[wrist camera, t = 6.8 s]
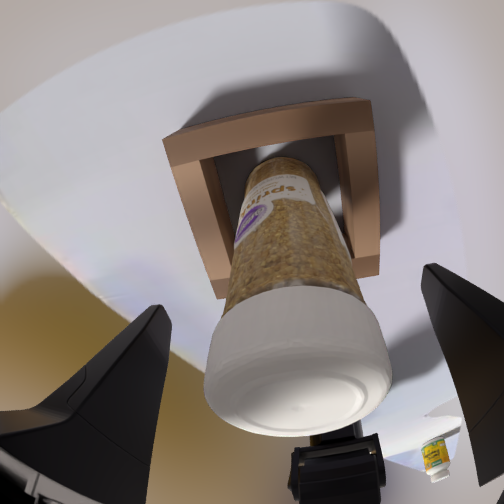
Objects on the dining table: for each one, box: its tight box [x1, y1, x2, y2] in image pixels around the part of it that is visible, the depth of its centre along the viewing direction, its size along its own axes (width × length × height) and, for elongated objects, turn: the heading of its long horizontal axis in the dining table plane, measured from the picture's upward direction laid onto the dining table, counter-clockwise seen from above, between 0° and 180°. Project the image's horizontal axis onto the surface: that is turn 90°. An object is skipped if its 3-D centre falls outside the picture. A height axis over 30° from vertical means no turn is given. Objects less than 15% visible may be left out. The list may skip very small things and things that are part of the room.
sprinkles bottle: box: [204, 157, 392, 437], centre depth 12 cm, size 5×5×13 cm
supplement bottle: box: [421, 437, 450, 483], centre depth 38 cm, size 5×5×10 cm
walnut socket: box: [162, 97, 380, 299], centre depth 16 cm, size 10×10×3 cm
